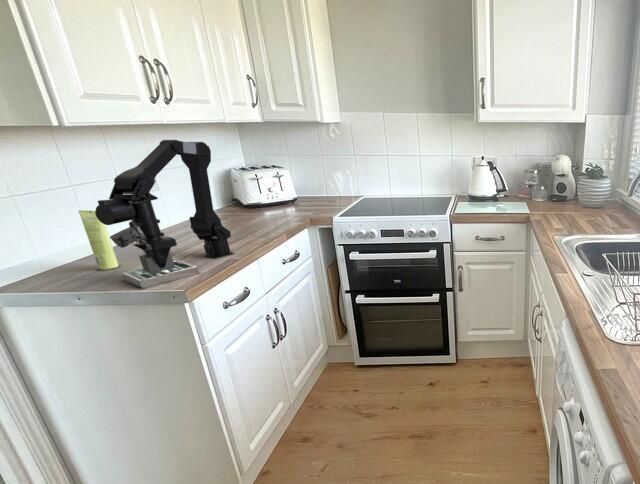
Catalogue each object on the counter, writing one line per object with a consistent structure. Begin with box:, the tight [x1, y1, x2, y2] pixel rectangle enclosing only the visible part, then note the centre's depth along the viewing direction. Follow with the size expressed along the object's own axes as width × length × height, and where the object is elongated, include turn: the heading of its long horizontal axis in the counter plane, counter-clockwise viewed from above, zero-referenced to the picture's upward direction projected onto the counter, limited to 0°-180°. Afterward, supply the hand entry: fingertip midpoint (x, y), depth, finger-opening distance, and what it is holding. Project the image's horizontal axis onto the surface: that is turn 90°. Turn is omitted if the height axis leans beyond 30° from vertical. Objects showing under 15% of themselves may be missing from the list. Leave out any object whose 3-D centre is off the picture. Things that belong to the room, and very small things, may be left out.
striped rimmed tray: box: [121, 259, 199, 290], centre depth 130 cm, size 15×13×2 cm
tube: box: [77, 209, 119, 271], centre depth 135 cm, size 6×5×20 cm
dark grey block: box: [138, 251, 175, 274], centre depth 128 cm, size 6×5×5 cm
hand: (159, 266), depth 129 cm, fingers closed on dark grey block, 4 cm apart
